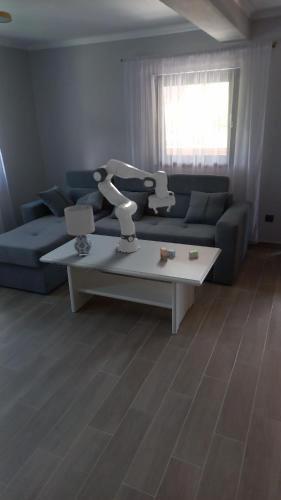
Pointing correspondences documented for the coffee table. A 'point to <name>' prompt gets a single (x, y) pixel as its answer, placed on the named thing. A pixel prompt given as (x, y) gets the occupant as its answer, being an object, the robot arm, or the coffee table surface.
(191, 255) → the olive brick
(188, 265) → the coffee table surface
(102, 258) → the coffee table surface
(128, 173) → the robot arm
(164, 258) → the walnut brick
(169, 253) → the slate blue brick
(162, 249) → the terracotta brick
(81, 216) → the lamp
